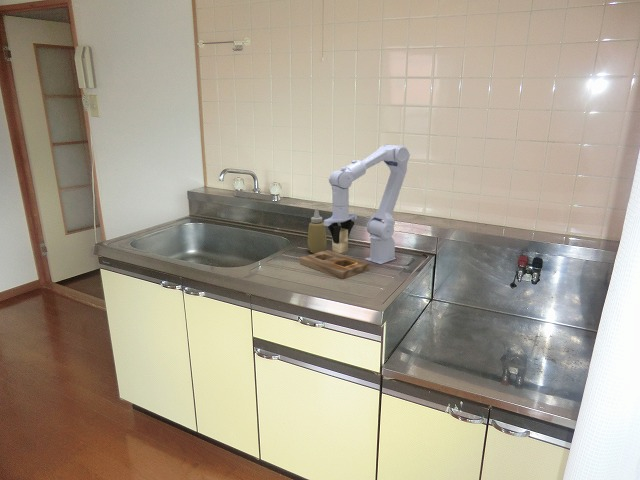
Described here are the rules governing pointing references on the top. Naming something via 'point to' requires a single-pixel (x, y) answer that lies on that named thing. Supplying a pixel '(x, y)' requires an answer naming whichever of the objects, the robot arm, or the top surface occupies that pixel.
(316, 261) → the wooden peg tray
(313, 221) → the squeeze bottle
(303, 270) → the top surface
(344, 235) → the peg
